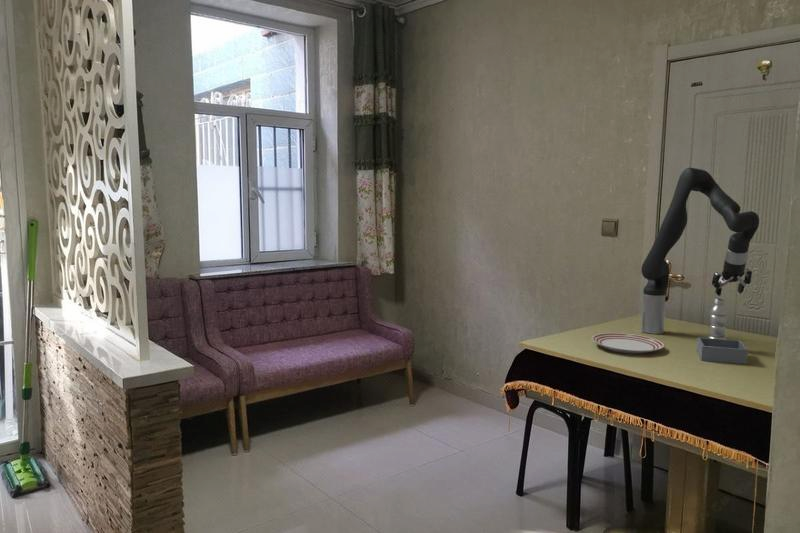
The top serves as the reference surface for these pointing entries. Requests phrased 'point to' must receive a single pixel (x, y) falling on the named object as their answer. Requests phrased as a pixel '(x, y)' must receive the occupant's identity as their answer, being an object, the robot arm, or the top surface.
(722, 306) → the plastic bottle
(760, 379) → the top surface
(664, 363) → the top surface
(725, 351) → the tray
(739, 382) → the top surface
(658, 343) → the dinner plate
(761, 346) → the top surface
